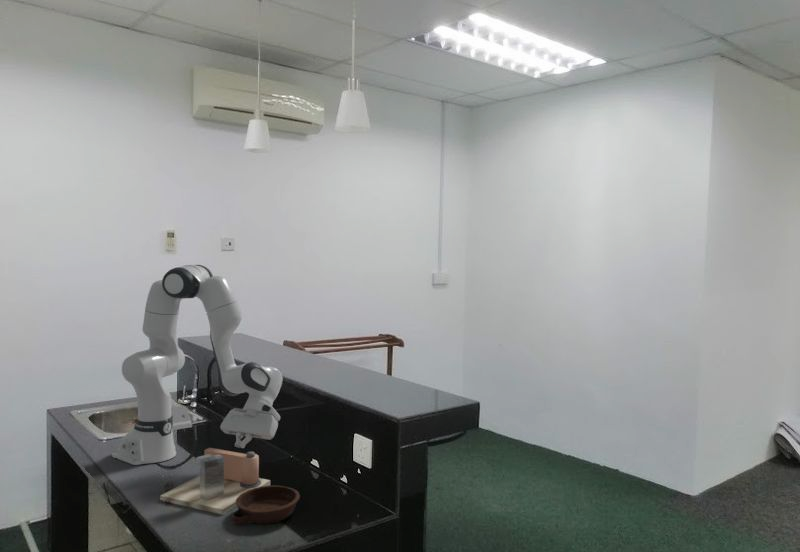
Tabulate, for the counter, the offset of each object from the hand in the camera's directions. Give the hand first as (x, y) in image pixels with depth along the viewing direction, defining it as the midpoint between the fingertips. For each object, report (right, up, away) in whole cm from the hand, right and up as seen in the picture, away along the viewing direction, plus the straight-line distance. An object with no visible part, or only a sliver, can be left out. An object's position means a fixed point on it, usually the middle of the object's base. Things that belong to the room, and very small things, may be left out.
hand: (239, 447), depth 194 cm
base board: (-3, -10, -14) cm, 18 cm away
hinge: (-42, -7, +49) cm, 65 cm away
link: (0, -7, -8) cm, 11 cm away
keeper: (-3, -9, -20) cm, 22 cm away
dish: (+16, -11, -28) cm, 34 cm away
